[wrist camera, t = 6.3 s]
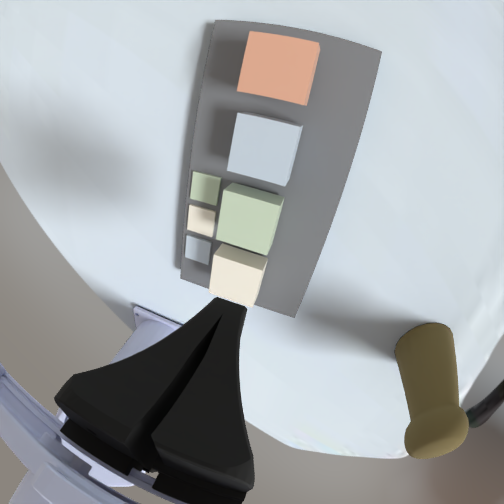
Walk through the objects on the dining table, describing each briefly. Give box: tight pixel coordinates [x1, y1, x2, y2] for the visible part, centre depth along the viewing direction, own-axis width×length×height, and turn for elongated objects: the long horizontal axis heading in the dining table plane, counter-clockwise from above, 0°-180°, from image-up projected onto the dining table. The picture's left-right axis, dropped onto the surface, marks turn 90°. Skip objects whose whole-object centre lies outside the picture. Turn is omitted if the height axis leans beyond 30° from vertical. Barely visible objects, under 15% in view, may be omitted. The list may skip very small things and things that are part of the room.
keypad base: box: [180, 20, 382, 318], centre depth 18 cm, size 20×10×1 cm, turn 169°
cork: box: [395, 323, 469, 459], centre depth 17 cm, size 6×6×11 cm
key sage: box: [216, 183, 285, 255], centre depth 17 cm, size 3×3×2 cm
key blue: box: [227, 112, 303, 186], centre depth 15 cm, size 3×3×2 cm
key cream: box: [209, 243, 268, 308], centre depth 20 cm, size 3×3×2 cm
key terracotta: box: [237, 31, 320, 106], centre depth 12 cm, size 3×3×2 cm
